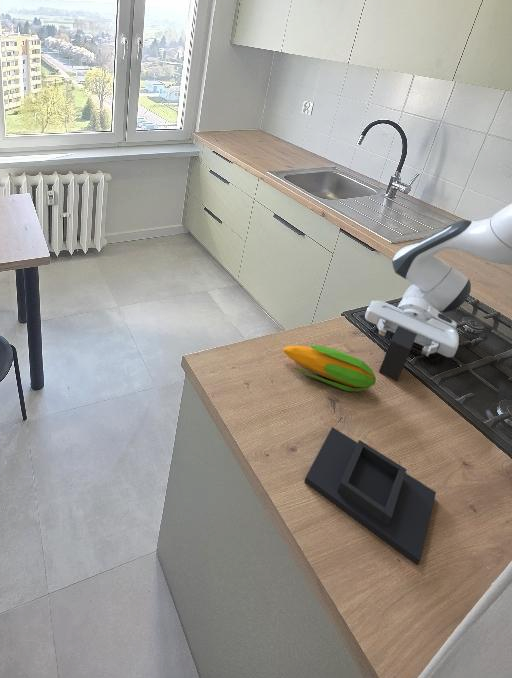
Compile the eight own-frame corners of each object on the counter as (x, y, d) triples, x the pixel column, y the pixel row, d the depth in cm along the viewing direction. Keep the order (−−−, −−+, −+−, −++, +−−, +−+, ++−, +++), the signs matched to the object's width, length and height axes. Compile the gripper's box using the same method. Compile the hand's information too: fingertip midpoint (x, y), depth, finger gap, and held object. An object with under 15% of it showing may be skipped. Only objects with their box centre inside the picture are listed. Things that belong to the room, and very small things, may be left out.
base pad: (433, 497, 75) (440, 483, 73) (417, 565, 65) (425, 551, 64) (330, 431, 86) (335, 418, 84) (303, 482, 76) (308, 468, 75)
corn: (381, 379, 89) (284, 345, 97) (371, 406, 92) (278, 371, 100) (379, 357, 95) (288, 328, 103) (369, 383, 98) (281, 352, 106)
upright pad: (404, 365, 103) (417, 334, 99) (397, 381, 98) (410, 349, 94) (386, 356, 106) (398, 325, 102) (378, 372, 101) (390, 340, 97)
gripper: (375, 289, 117) (361, 312, 108) (464, 325, 105) (457, 355, 95) (369, 307, 120) (355, 331, 110) (455, 344, 107) (447, 375, 98)
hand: (403, 342), depth 103 cm, fingers open, 8 cm apart
